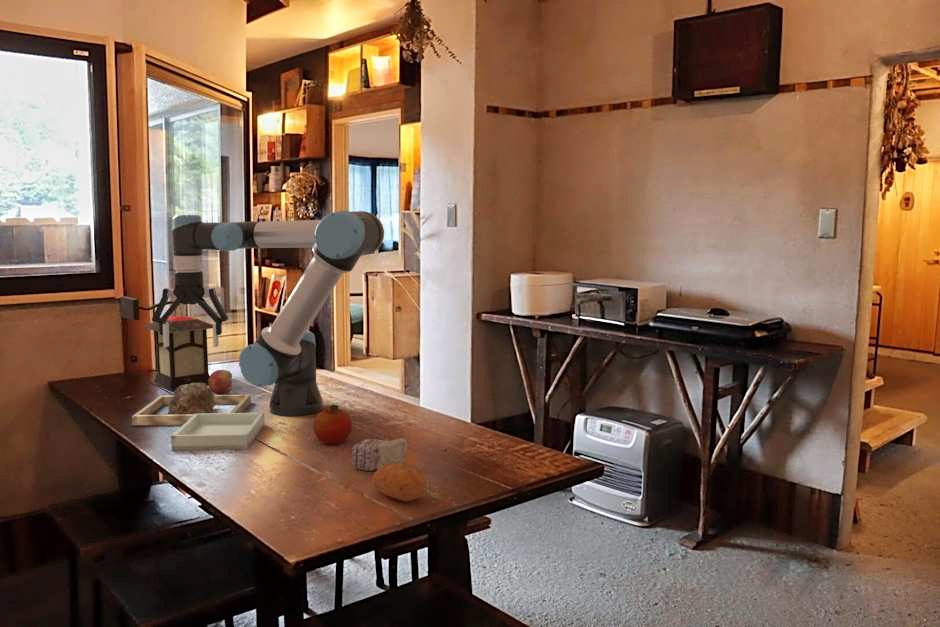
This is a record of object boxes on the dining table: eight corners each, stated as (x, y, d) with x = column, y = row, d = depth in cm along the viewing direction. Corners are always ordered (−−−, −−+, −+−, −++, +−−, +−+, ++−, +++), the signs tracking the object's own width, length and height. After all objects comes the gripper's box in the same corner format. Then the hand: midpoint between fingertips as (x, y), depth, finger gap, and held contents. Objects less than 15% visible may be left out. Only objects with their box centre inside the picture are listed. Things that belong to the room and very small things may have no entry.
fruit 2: (347, 435, 202) (347, 397, 201) (356, 445, 193) (355, 406, 192) (310, 439, 198) (309, 400, 197) (317, 449, 190) (316, 409, 188)
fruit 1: (227, 398, 240) (226, 373, 239) (203, 397, 241) (202, 372, 240) (238, 392, 248) (237, 367, 247) (215, 391, 249) (214, 367, 248)
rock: (162, 417, 223) (171, 425, 215) (158, 387, 222) (167, 394, 213) (213, 406, 231) (224, 413, 223) (210, 377, 229) (220, 384, 221)
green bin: (264, 425, 211) (264, 412, 210) (247, 449, 190) (247, 434, 190) (196, 426, 210) (195, 413, 209) (171, 450, 189) (170, 436, 188)
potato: (402, 511, 151) (402, 476, 150) (365, 493, 161) (365, 459, 160) (432, 502, 156) (432, 468, 155) (394, 485, 166) (394, 452, 165)
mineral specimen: (401, 458, 184) (400, 432, 183) (409, 467, 177) (409, 440, 176) (347, 464, 179) (347, 437, 179) (354, 474, 173) (354, 446, 172)
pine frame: (250, 402, 235) (250, 394, 235) (232, 423, 212) (232, 414, 212) (160, 403, 233) (160, 395, 233) (132, 425, 210) (131, 416, 210)
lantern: (121, 387, 254) (115, 295, 250) (198, 376, 272) (194, 290, 268) (141, 397, 241) (136, 300, 237) (222, 385, 258) (218, 294, 254)
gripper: (237, 270, 222) (239, 344, 225) (146, 269, 220) (150, 344, 223) (231, 272, 214) (233, 348, 217) (137, 271, 213) (141, 348, 216)
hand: (191, 346), depth 220 cm, fingers open, 13 cm apart
